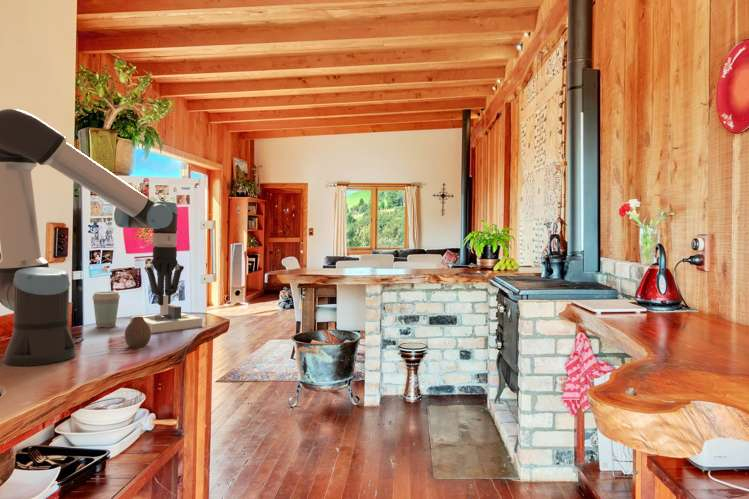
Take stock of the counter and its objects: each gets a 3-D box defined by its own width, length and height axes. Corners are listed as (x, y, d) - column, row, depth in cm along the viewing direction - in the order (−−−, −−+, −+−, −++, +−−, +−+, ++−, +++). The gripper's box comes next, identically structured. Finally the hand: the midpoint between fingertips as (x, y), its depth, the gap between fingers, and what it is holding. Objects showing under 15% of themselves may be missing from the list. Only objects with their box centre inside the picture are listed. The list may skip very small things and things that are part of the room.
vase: (145, 342, 142) (146, 314, 141) (154, 347, 137) (154, 317, 136) (121, 346, 137) (121, 316, 137) (128, 350, 132) (129, 320, 132)
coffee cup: (124, 324, 168) (125, 291, 168) (109, 329, 159) (109, 294, 159) (102, 323, 169) (103, 290, 168) (86, 328, 160) (86, 293, 160)
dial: (150, 320, 168) (150, 303, 168) (172, 318, 174) (172, 301, 174) (166, 325, 160) (166, 307, 159) (188, 322, 166) (188, 305, 165)
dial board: (151, 333, 156) (152, 323, 155) (130, 325, 167) (130, 316, 167) (202, 326, 169) (202, 317, 169) (178, 319, 181) (178, 311, 181)
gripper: (150, 246, 152) (149, 317, 153) (188, 246, 162) (187, 313, 163) (140, 245, 157) (140, 314, 158) (178, 245, 167) (177, 310, 168)
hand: (164, 314), depth 160 cm, fingers closed
